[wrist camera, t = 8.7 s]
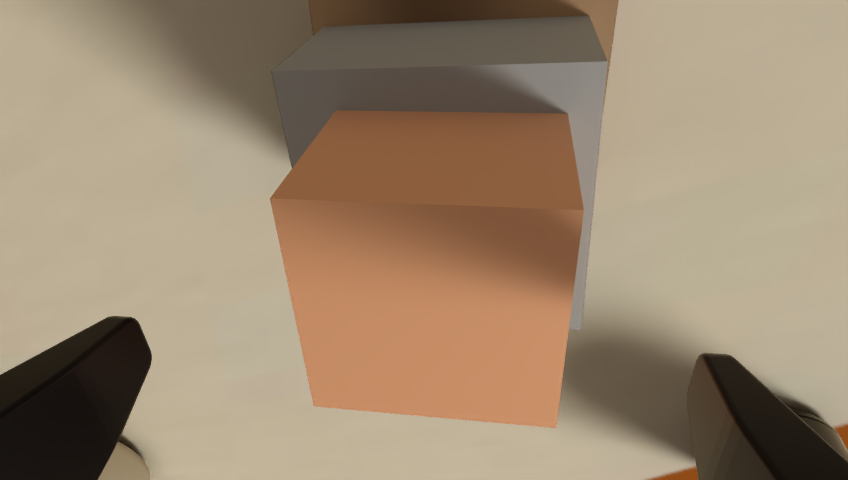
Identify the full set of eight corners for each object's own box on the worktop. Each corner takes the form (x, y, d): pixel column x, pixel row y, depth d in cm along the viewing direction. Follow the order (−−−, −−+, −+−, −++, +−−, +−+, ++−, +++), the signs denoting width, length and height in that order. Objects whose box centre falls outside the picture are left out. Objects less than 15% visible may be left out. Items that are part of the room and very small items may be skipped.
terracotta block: (568, 113, 12) (583, 210, 9) (549, 300, 15) (556, 427, 12) (335, 109, 13) (269, 198, 9) (358, 289, 16) (313, 405, 12)
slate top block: (588, 15, 15) (607, 61, 11) (571, 245, 18) (580, 330, 15) (323, 26, 16) (271, 71, 13) (358, 241, 20) (324, 318, 16)
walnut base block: (602, -35, 18) (620, -9, 14) (573, 196, 22) (582, 257, 19) (346, -30, 19) (307, -6, 15) (368, 189, 23) (341, 244, 20)
